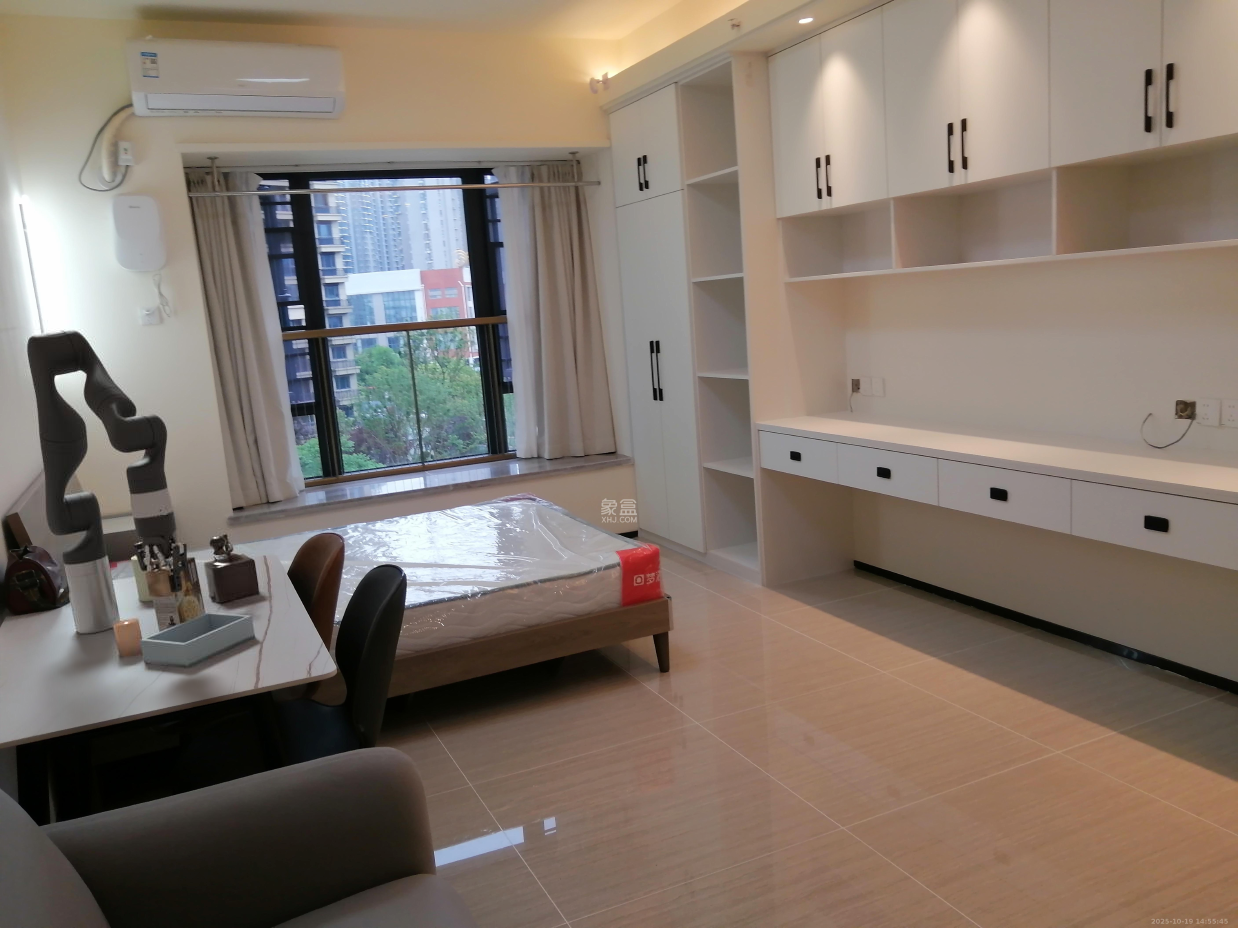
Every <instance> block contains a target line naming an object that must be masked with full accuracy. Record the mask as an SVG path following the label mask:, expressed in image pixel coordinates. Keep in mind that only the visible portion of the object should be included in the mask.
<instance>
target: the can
mask: <svg viewBox="0 0 1238 928" xmlns="http://www.w3.org/2000/svg"><path fill="white" fill-rule="evenodd" d="M130 560H131V565H132V568H133V573H134V579H135V585H136V589H137V595H138V596H137V597H138V599H137V600H138V601H140V602H153V598H152V596H150V595H149V590H148V585H147V579H146V574H145V573H147V571H142V570H141V568H140V565H139V562H138V559H137V557H136V554H135V555H134V556H132V557H131V558H130ZM145 560H146V558H144V562H145ZM166 560H170V558H169V559H166ZM145 565H146V563H145ZM154 565H155V564H154Z"/></svg>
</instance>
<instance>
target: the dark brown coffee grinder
mask: <svg viewBox="0 0 1238 928" xmlns="http://www.w3.org/2000/svg"><path fill="white" fill-rule="evenodd" d="M228 537H229V534H227V533H224V534H222V535H215V536H213V537H211V538H210V540H209V546H210V547H211V548H212V549H213V555H214V556H213V558H214V559H213V560H211V561H206V562H205V561H204V563H203V565H204V566H203V567H204V572H205V577H206V579H205V580H206V584H207V588H208V597H209V598H210V599H211V600H212V601H214V602H216V603H219V604H223V603H229V602H234V601H237V600H242V599H246V598H249V597H253V596H257V595H260V588H259V580H258V574H257V568H256V567H257V565H256V561H255V559H253V558H251V557H249V556H247V555H246V554H243V553H241V554H239V553H234V549H235V548H234V546H233V544H231V542H230V541H229V538H228ZM232 552H233V553H232ZM215 556H217V557H215Z"/></svg>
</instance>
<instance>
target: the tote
mask: <svg viewBox="0 0 1238 928" xmlns="http://www.w3.org/2000/svg"><path fill="white" fill-rule="evenodd" d="M205 613H206V614H203V615H201V616H198V617H196V618H193V619H191V620H188V621H186V622H184V623H181V624H179V625H176V626H174V627H171V628H169V629H166V630H164V631H161V632H156V633H154V634H152V635H149V636H147V637H143V638H142V639H141V640H140V643H141V648H142V653H141V654H142V657H143V662H144V663H145V664H153V665H154V664H156V665H161V666H171V667H178V668H190V667H194V665H198V664H200V663H202V662H203V661H205V660H206V661H207V660H208V659H210V658H211V659H212V657H215V656H217V655H219V654H221V653H224V652H226V651H228V650H230V649H232V648H234V647H237V646H238V645H241V644H243V643H246V642H248V641H250V640H252V639H255V638H256V636H255V629H254V624H253V617H252V615H249V614H248V615H247V614H246V615H245V614H236V613H235V614H234V613H222V612H221V613H220V612H209V611H208V612H205Z"/></svg>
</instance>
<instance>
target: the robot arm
mask: <svg viewBox="0 0 1238 928" xmlns="http://www.w3.org/2000/svg"><path fill="white" fill-rule="evenodd" d="M26 346H27V347H26V350H27V351H26V353H27V359H28V364H29V365H28V366H29V369H30V374H31V380H32V385H33V389H34V395H35V399H36V400H35V402H36V408H37V409H36V411H37V420H38V422H37V423H38V434H39V443H40V451H41V452H40V453H41V456H42V457H41V458H42V464H43V471H44V483H45V484H44V485H45V486H44V487H45V515H46V522H47V525H48V529H49V531H50V532H51V533H52V534H53V535H55V536H57V537H58V536H61V537H62V536H67V535H72V534H77V533H81V532H82V533H83V532H85V534H84V536H83V537H82V538H81V539H80V540H79V541H78V542H76V543H75V544H73V545H72V546H70V547H68V548H66V549H65V550H64V551H63V552H62V560H63V561H62V562H63V565H64V570H65V574H66V579H67V584H68V589H69V593H68V597H69V601H70V606H71V611H72V617H73V620H74V626H75V630H76V631H77V632H78V633H79V634H84V635H85V634H94V633H99V632H104V631H106V630H110V629H114V627H113V625H114V624H115V623H117V622H119V621H121V618H120V611H119V607H118V602H117V597H116V591H115V586H114V582H113V577H112V576H113V575H112V572H111V567H110V562H109V561H110V560H109V556H108V552H107V547H106V540H105V535H104V529H103V521H102V515H101V508H100V503H99V501H98V498H97V496H96V495H95V493H94V492H92V491H83V492H77V493H71V494H66V490H67V486H68V484H69V483H70V480H71V479H72V477H73V475H74V474H75V472H77V470H78V469H79V467H80V466H81V464H82V462H83V460H84V459H85V457H86V455H87V452H88V433H87V425H86V422H85V420H84V419H83V417H82V416H81V414H80V413H79V412H77V410H76V409H75V408H74V407H72V406H71V404H69V403H68V402H67V401H66V400H65V399H64V398H63V396H61V394H60V392H59V391H58V389H57V387H56V382H55V378H56V377H57V376H61V375H67V374H72V373H77V372H79V371H81V372H83V373H84V374H85V376H86V377H85V382H84V387H83V398H84V400H85V404H86V405H87V407H88V408H89V410H90V411H92V413H93V414H95V416H96V417H97V418H98V419H99V420H100V421H101V423H102V425H103V427H104V429H105V431H106V434H107V437H108V440H109V443H110V444H111V446H112V448H113V449H115V450H116V451H118V452H120V453H124V454H127V453H128V454H130V453H135V452H140V451H144V454H143V456H142V459H140V460H138V461H136V462H135V463H132V464H130V465H128V467H126V470H125V473H126V475H125V476H126V480H127V486H128V490H129V493H130V508H131V512H132V517H133V523H134V528H135V533H136V536H137V537H138V538H140V539H141V542H138V543H137V542H136V543H135V544H133V545H132V548H133V551H134V553H135V555H136V557H137V559H138V562H139V565H140V568H141V570H142V571H147V572H150V571H153V570H156V569H159V568H161V564H162V566H165V568H166V570H167V572H168V574H169V575H170V576H168V577H169V582H170V588H171V592H174V593H175V592H178V591H181V590H182V581H181V576H180V572H181V571H183V570H186V569H187V558H188V550H187V548H188V546H187V543H186V542H182V543H179V542H177V541H176V539H175V537H174V533H175V532H176V531H177V529H178V528H177V523H176V518H175V513H174V512H175V511H174V506H173V503H172V502H173V501H172V498H171V497H172V496H171V494H170V491H169V488H168V482H167V476H166V473H165V461H166V449H167V443H168V430H167V426H166V424H165V422H164V421H163V420H162V418H161V417H159V416H158V415H156V414H151V413H150V414H149V413H148V414H142V415H137V407H136V405H135V403H134V401H132V399H130V397H129V396H128V395H127V394H126V393H125V392H124V391H123V390H122V389H121V388H120V387H119V386H118V385H117V383H115V382H114V380H113V379H112V377H111V376H110V373H108V371H107V369H106V368H105V366H104V364H103V363H102V361H101V359H100V358H99V356H98V355H97V353H96V352H95V350H94V349H93V347H92V345H91V344H90V343H89V341H88V340H87V339H86V337H85V336H84V335H83V334H82V333H80V332H79V331H78V330H75V329H62V330H57V331H50V332H45V333H44V332H43V333H39V334H38V333H37V334H35V335H31V336H30V337H29V338H28V341H27V344H26ZM144 558H146V560H145V562H144ZM166 559H169V560H166ZM170 559H171V560H170ZM180 561H181V565H180V564H179V562H180ZM145 563H146V565H145ZM171 563H172V564H173V569H172V567H171V565H170V564H171ZM154 564H155V565H154Z"/></svg>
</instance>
